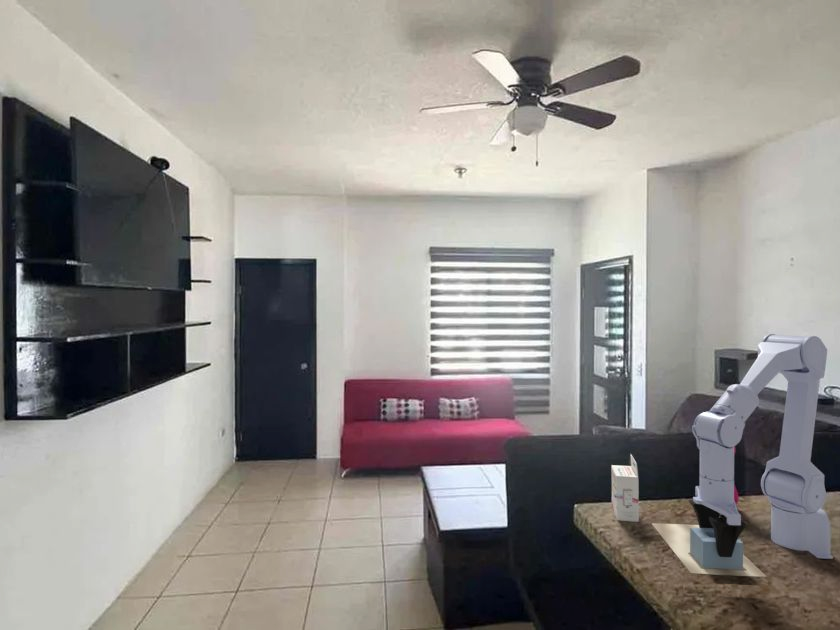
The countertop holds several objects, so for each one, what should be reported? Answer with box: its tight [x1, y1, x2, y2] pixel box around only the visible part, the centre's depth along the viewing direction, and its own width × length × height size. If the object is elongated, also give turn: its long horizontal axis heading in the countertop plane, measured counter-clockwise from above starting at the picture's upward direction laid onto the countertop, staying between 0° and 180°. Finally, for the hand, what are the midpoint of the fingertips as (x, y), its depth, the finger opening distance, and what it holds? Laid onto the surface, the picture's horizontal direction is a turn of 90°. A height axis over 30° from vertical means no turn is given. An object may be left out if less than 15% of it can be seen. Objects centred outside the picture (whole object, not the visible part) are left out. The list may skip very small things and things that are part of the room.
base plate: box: [651, 522, 768, 578], centre depth 106 cm, size 13×22×6 cm, turn 174°
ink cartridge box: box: [610, 453, 640, 523], centre depth 123 cm, size 9×5×15 cm, turn 168°
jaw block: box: [690, 527, 744, 570], centre depth 100 cm, size 7×6×5 cm
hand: (716, 547), depth 100 cm, fingers open, 6 cm apart
